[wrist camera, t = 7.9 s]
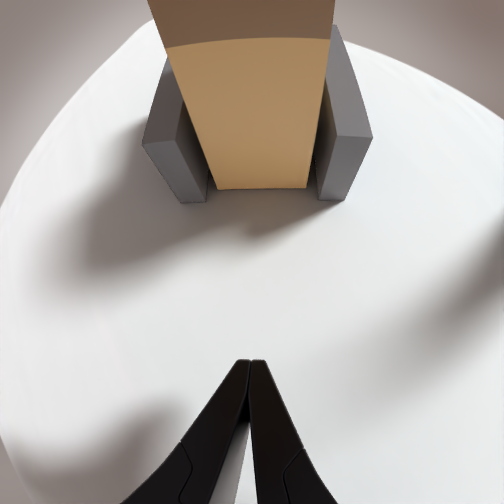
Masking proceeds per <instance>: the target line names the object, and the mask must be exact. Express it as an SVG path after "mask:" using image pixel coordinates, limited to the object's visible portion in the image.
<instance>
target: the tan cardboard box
mask: <svg viewBox="0 0 504 504" xmlns="http://www.w3.org/2000/svg"><path fill="white" fill-rule="evenodd" d="M147 1H148V4H149V7H150V9H151V12H152V15H153V18H154V21H155V23H156V26H157V29H158V31H159V34H160V37H161V40H162V42H163V45H164V48H165V51H166V53H167V56H168V59H169V61H170V64H171V67H172V69H173V72H174V75H175V78H176V80H177V83H178V86H179V88H180V91H181V94H182V96H183V99H184V102H185V104H186V107H187V110H188V112H189V115H190V118H191V120H192V123H193V126H194V128H195V131H196V134H197V136H198V139H199V141H200V144H201V147H202V149H203V152H204V155H205V157H206V160H207V163H208V165H209V168H210V170H211V173H212V176H213V178H214V181H215V183H216V186H217V189H218V190H224V189H259V188H306V185H307V180H308V174H309V169H310V164H311V158H312V153H313V147H314V141H315V136H316V130H317V124H318V118H319V112H320V106H321V100H322V94H323V87H324V81H325V74H326V67H327V60H328V53H329V46H330V38H331V31H332V23H333V14H334V6H335V0H147Z"/></svg>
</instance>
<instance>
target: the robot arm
mask: <svg viewBox="0 0 504 504" xmlns="http://www.w3.org/2000/svg"><path fill="white" fill-rule="evenodd" d="M249 428H250V429H251V440H252V451H253V462H254V472H255V483H256V493H257V503H258V504H338V503H337V502H336V500H335V499H334V498H333V496H332V495H331V493H330V492H329V491H328V489H327V488H326V486H325V485H324V483H323V482H322V480H321V478H320V477H319V475H318V474H317V472H316V470H315V468H314V466H313V464H312V462H311V460H310V458H309V456H308V454H307V452H306V450H305V449H304V446H303V444H302V442H301V439H300V437H299V435H298V433H297V431H296V428H295V426H294V424H293V422H292V420H291V417H290V415H289V413H288V411H287V408H286V406H285V404H284V402H283V400H282V397H281V395H280V393H279V390H278V388H277V386H276V384H275V381H274V379H273V377H272V375H271V372H270V370H269V368H268V365H267V363H266V361H265V360H252V361H251V360H249V359H238V360H237V361H236V362H235V364H234V365H233V367H232V368H231V370H230V371H229V373H228V374H227V375H226V377H225V378H224V380H223V381H222V383H221V384H220V386H219V387H218V389H217V390H216V391H215V393H214V394H213V396H212V397H211V399H210V400H209V401H208V403H207V404H206V406H205V407H204V408H203V410H202V411H201V413H200V414H199V415H198V417H197V418H196V420H195V421H194V422H193V424H192V425H191V427H190V428H189V429H188V431H187V432H186V433H185V435H184V436H183V438H182V439H181V440H180V441H181V442H179V443H178V444H177V445H176V447H175V448H174V450H173V451H172V452H171V453H170V455H169V456H168V457H167V458H166V459H165V461H164V462H163V463H162V464H161V465H160V466H159V467H158V468H157V470H156V471H155V472H154V473H153V474H152V475H151V476H150V477H149V478H148V479H147V480H146V481H144V482H143V483H142V484H141V485H140V486H139V487H138V488H137V489H136V490H135V491H134V492H133V493H132V494H131V495H130V496H128V497H127V498H126V499H125V500H124V501H123V502H122V503H120V504H234V502H235V498H236V493H237V488H238V483H239V479H240V474H241V469H242V464H243V459H244V454H245V449H246V444H247V439H248V434H249Z"/></svg>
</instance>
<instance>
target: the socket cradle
mask: <svg viewBox="0 0 504 504" xmlns="http://www.w3.org/2000/svg"><path fill="white" fill-rule="evenodd" d="M372 139H373V136H372V132H371V128H370V124H369V120H368V116H367V113H366V109H365V106H364V102H363V99H362V96H361V92H360V89H359V86H358V83H357V80H356V76H355V73H354V70H353V68H352V65H351V62H350V59H349V56H348V53H347V51H346V48H345V45H344V43H343V40H342V38H341V35H340V32H339V30H338V28H337V25H332V31H331V38H330V46H329V53H328V60H327V67H326V74H325V81H324V87H323V94H322V100H321V106H320V112H319V118H318V124H317V130H316V136H315V141H314V147H313V148H314V157H315V166H316V177H317V188H318V199H319V200H345V198H346V196H347V194H348V192H349V189H350V187H351V185H352V183H353V181H354V179H355V177H356V174H357V172H358V170H359V168H360V166H361V164H362V161H363V159H364V157H365V155H366V153H367V150H368V148H369V146H370V144H371V141H372ZM142 146H143V147H144V149H145V150H146V152H147V154H148V155H149V157H150V158H151V160H152V161H153V163H154V164H155V166H156V167H157V169H158V170H159V172H160V173H161V175H162V176H163V177H164V179H165V180H166V182H167V183H168V185H169V186H170V188H171V189H172V191H173V192H174V194H175V195H176V197H177V198H178V200H179V201H180V203H191V202H206V192H207V180H208V169H209V165H208V163H207V160H206V157H205V155H204V152H203V149H202V147H201V144H200V141H199V139H198V136H197V134H196V131H195V128H194V126H193V123H192V120H191V118H190V115H189V112H188V110H187V107H186V104H185V102H184V99H183V96H182V94H181V91H180V88H179V86H178V83H177V80H176V78H175V75H174V72H173V69H172V67H171V64H170V61H169V59H168V57H167V59H166V62H165V65H164V68H163V71H162V74H161V77H160V80H159V83H158V87H157V90H156V93H155V96H154V100H153V103H152V107H151V110H150V114H149V117H148V121H147V125H146V129H145V132H144V136H143V140H142Z"/></svg>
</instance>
